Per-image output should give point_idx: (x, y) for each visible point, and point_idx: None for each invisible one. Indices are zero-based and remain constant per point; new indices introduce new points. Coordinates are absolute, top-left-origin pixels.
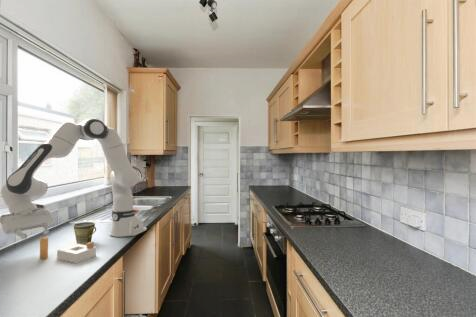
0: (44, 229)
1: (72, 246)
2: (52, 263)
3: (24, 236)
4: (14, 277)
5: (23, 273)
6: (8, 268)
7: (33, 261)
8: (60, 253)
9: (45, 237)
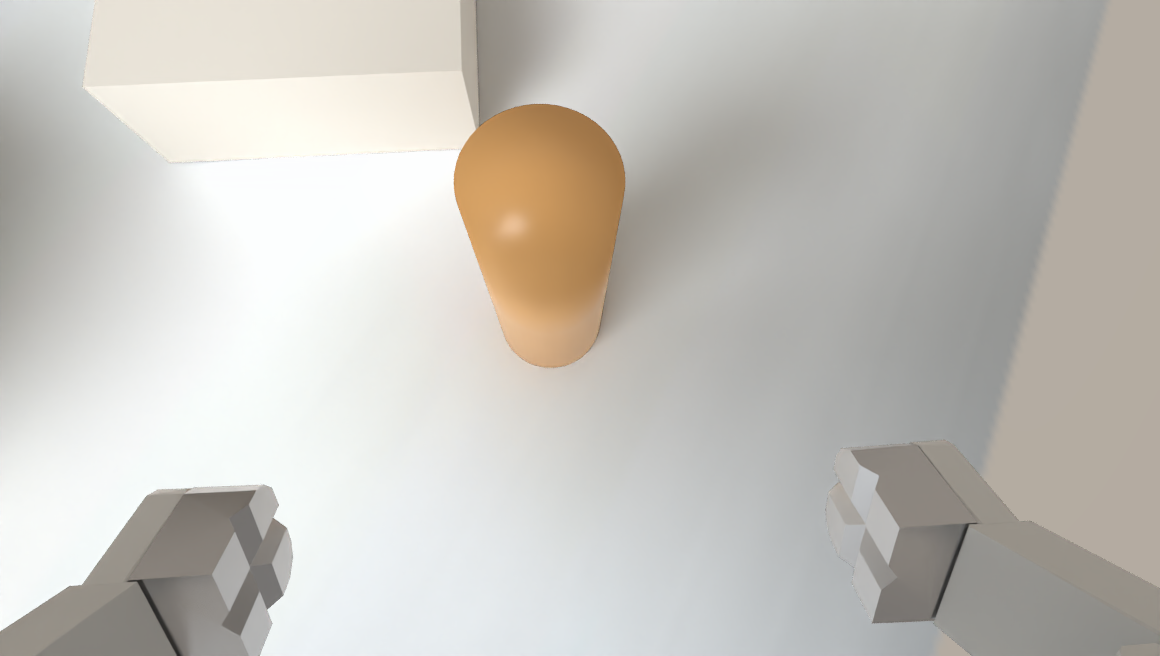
0: (219, 571)
1: (238, 29)
2: (602, 57)
3: (931, 443)
4: (1016, 19)
5: (923, 43)
6: (977, 330)
7: (689, 314)
8: (467, 36)
9: (488, 209)
